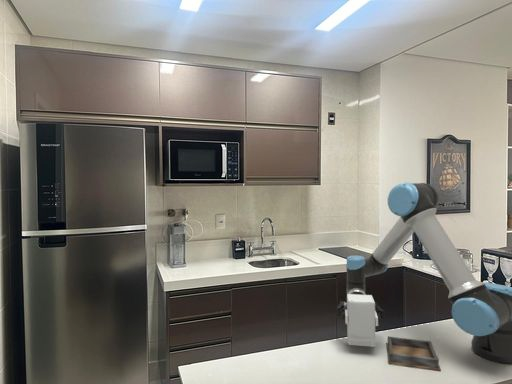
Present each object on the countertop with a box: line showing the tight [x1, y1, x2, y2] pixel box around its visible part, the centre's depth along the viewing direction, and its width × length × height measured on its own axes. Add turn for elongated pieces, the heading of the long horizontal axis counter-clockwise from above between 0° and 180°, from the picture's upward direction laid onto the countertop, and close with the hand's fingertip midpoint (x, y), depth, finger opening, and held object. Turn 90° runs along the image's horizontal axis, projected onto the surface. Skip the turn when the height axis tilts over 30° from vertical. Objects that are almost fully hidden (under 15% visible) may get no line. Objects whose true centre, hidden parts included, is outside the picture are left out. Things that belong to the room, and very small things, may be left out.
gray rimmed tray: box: [385, 335, 442, 372], centre depth 118 cm, size 15×15×3 cm
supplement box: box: [346, 293, 376, 348], centre depth 123 cm, size 9×9×15 cm
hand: (361, 320), depth 119 cm, fingers closed on supplement box, 9 cm apart
